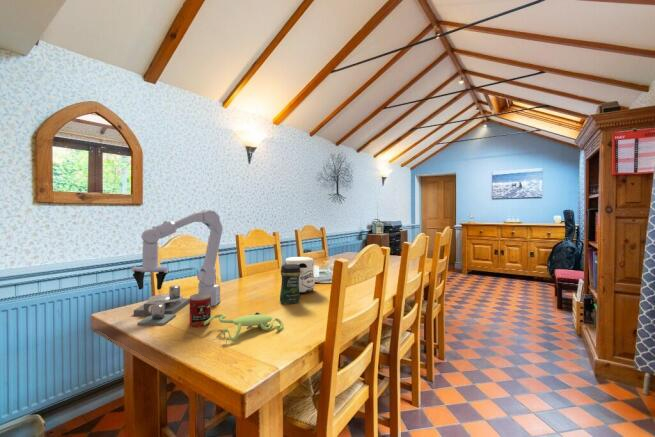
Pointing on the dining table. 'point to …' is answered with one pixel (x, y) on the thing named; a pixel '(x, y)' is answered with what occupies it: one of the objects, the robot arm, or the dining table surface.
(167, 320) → the rubber mat
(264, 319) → the figurine
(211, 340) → the dining table surface
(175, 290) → the block
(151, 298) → the scale pan
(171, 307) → the scale housing
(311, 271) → the milk container
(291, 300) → the coffee jar
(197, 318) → the canned food
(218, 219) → the robot arm
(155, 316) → the steel weight
